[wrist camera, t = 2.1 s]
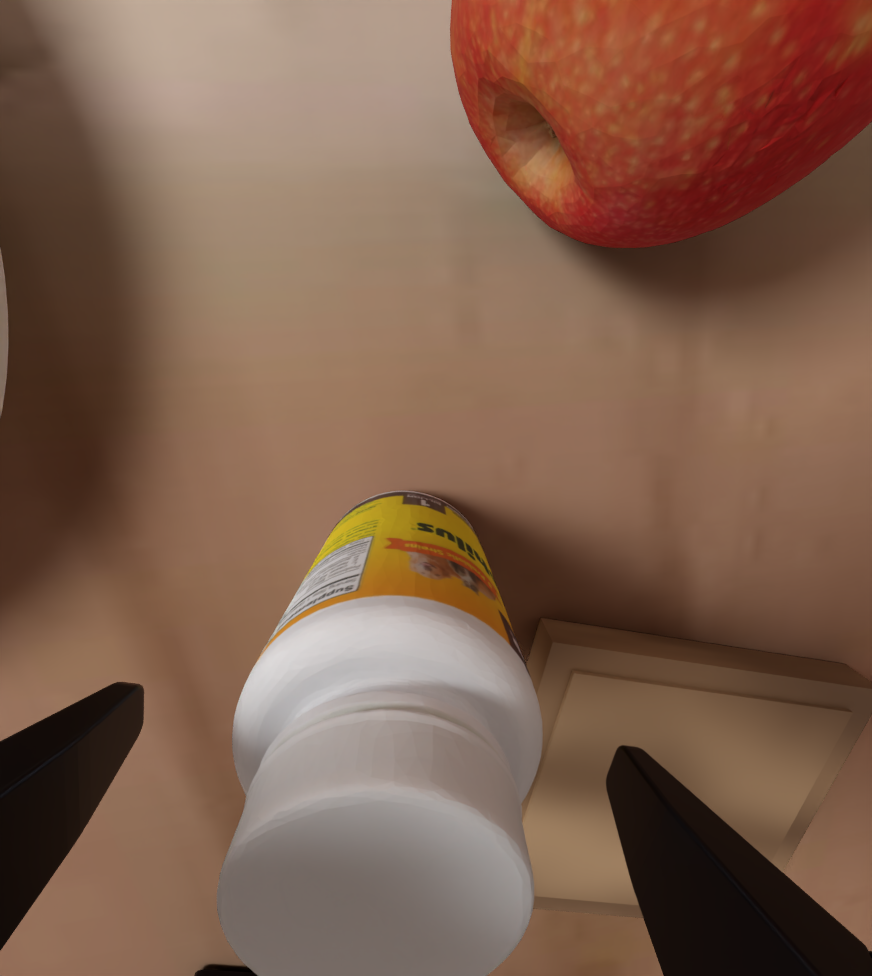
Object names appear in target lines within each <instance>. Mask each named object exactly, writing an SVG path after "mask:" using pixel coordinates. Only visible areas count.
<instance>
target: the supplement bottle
mask: <svg viewBox="0 0 872 976" xmlns="http://www.w3.org/2000/svg"><path fill="white" fill-rule="evenodd" d="M542 738H543V732H542V718H541V712H540V707H539V702H538V699H537V695H536V692H535V689H534V686H533V683H532V680H531V677H530V674H529V671H528V669H527V666H526V663H525V661H524V658H523V656H522V653H521V650H520V648H519V645H518V642H517V639H516V637H515V634H514V632H513V629H512V626H511V623H510V621H509V618H508V615H507V613H506V610H505V607H504V604H503V602H502V599H501V596H500V594H499V591H498V588H497V586H496V583H495V580H494V578H493V575H492V572H491V569H490V567H489V564H488V562H487V558H486V556H485V553H484V550H483V548H482V546H481V543H480V541H479V539H478V536H477V534H476V532H475V531H474V529H473V527H472V526H471V524H470V523H469V522H468V520H467V519H466V518H465V517H464V516H463V515H462V514H461V513H460V512H459V511H458V510H456V509H455V508H454V507H453V506H451V505H450V504H448V503H446V502H445V501H443V500H441V499H439V498H436V497H434V496H431V495H428V494H425V493H420V492H416V491H392V492H386V493H382V494H379V495H376V496H373V497H370V498H368V499H366V500H364V501H362V502H361V503H359V504H357V505H356V506H354V507H353V508H352V509H351V510H349V511H348V512H347V513H346V514H345V515H344V516H343V517H342V518H341V519H340V521H339V522H338V523H337V524H336V526H335V527H334V529H333V530H332V532H331V533H330V535H329V536H328V539H327V540H326V542H325V544H324V546H323V548H322V549H321V551H320V553H319V554H318V556H317V558H316V559H315V561H314V563H313V565H312V566H311V568H310V570H309V571H308V573H307V575H306V576H305V578H304V580H303V582H302V584H301V585H300V587H299V589H298V591H297V593H296V594H295V596H294V598H293V599H292V601H291V603H290V605H289V606H288V608H287V610H286V612H285V613H284V615H283V617H282V618H281V620H280V622H279V624H278V625H277V627H276V629H275V631H274V633H273V634H272V636H271V638H270V639H269V641H268V643H267V644H266V646H265V648H264V649H263V651H262V653H261V655H260V657H259V658H258V660H257V662H256V664H255V666H254V667H253V669H252V671H251V673H250V675H249V677H248V679H247V681H246V683H245V685H244V688H243V690H242V693H241V695H240V698H239V701H238V704H237V708H236V712H235V716H234V722H233V733H232V748H233V757H234V762H235V768H236V772H237V775H238V778H239V780H240V783H241V786H242V788H243V790H244V792H245V795H246V800H245V806H244V811H243V814H242V816H241V819H240V821H239V824H238V827H237V829H236V832H235V834H234V837H233V840H232V842H231V845H230V847H229V850H228V852H227V855H226V858H225V860H224V863H223V866H222V869H221V873H220V877H219V883H218V890H217V911H218V915H219V920H220V924H221V927H222V929H223V932H224V934H225V936H226V939H227V941H228V943H229V944H230V946H231V947H232V949H233V950H234V952H235V953H236V954H237V956H238V957H239V958H240V959H241V961H242V962H243V963H244V964H245V965H246V966H247V967H248V968H250V969H251V970H252V971H253V972H254V973H255V974H257V975H258V976H486V975H488V974H489V973H491V972H492V971H493V970H494V969H495V968H497V967H498V966H499V965H500V964H501V963H502V962H503V961H504V960H505V959H506V958H507V957H508V956H509V955H510V954H511V953H512V951H513V950H514V949H515V947H516V946H517V944H518V943H519V942H520V940H521V938H522V936H523V934H524V932H525V930H526V928H527V926H528V923H529V920H530V917H531V914H532V911H533V904H534V878H533V871H532V866H531V862H530V857H529V853H528V848H527V843H526V839H525V834H524V829H523V823H522V806H521V803H522V802H523V800H524V799H525V797H526V795H527V793H528V791H529V789H530V787H531V785H532V783H533V780H534V778H535V775H536V773H537V769H538V766H539V762H540V759H541V751H542Z"/></svg>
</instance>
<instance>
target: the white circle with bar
mask: <svg viewBox="0 0 872 976" xmlns="http://www.w3.org/2000/svg"><path fill="white" fill-rule="evenodd" d="M8 347H9V344H8V307H7V296H6V284H5V274H4V268H3V261H2V255H1V249H0V417H1V413H2V408H3V401H4V394H5V386H6V379H7V364H8Z"/></svg>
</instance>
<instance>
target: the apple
mask: <svg viewBox="0 0 872 976" xmlns="http://www.w3.org/2000/svg"><path fill="white" fill-rule="evenodd" d="M450 42H451V55H452V61H453V67H454V72H455V78H456V82H457V86H458V91H459V94H460V97H461V101H462V104H463V106H464V109H465V112H466V114H467V117H468V120H469V123H470V125H471V127H472V129H473V131H474V133H475V135H476V136H477V138H478V140H479V142H480V144H481V145H482V147H483V149H484V151H485V152H486V154H487V156H488V157H489V159H490V160H491V162H492V163H493V165H494V166H495V168H496V169H497V171H498V172H499V174H500V175H501V177H502V178H503V180H504V181H505V182H506V184H507V185H508V186H509V187H510V188H511V189H512V190H513V191H514V192H515V193H516V194H517V195H518V196H519V197H520V198H521V200H522V201H523V202H524V203H525V204H526V205H527V206H528V207H529V208H530V209H531V210H532V211H533V212H534V213H535V214H536V215H537V216H538V217H539V218H540V219H541V220H542V221H544V222H545V223H546V224H547V225H548V226H549V227H551V228H553V229H555V230H557V231H559V232H561V233H563V234H565V235H567V236H569V237H571V238H573V239H575V240H578V241H581V242H584V243H587V244H592V245H598V246H604V247H611V248H639V247H651V246H657V245H663V244H669V243H674V242H678V241H681V240H684V239H687V238H691V237H694V236H697V235H699V234H702V233H705V232H708V231H711V230H714V229H716V228H719V227H721V226H723V225H725V224H728V223H730V222H732V221H734V220H736V219H738V218H740V217H742V216H744V215H746V214H747V213H749V212H751V211H753V210H754V209H756V208H758V207H759V206H761V205H763V204H765V203H766V202H768V201H769V200H771V199H773V198H774V197H776V196H777V195H779V194H780V193H782V192H784V191H785V190H787V189H788V188H789V187H791V186H792V185H794V184H795V183H797V182H798V181H800V180H801V179H803V178H804V177H805V176H807V175H808V174H810V173H811V172H812V171H813V170H815V169H816V168H817V167H818V166H820V165H821V164H822V163H824V162H825V161H826V160H827V159H828V158H829V157H830V156H831V155H833V154H834V153H836V152H837V151H838V150H840V149H841V148H842V147H844V146H845V145H846V144H847V143H848V142H849V141H850V140H851V139H853V138H854V137H855V136H856V135H857V134H858V133H859V132H861V131H862V130H863V129H864V128H865V127H866V126H867V125H868V124H869V123H871V122H872V0H452V8H451V23H450Z"/></svg>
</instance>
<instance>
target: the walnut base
mask: <svg viewBox="0 0 872 976" xmlns="http://www.w3.org/2000/svg"><path fill="white" fill-rule="evenodd" d="M526 666H527V669H528V671H529V674H530V677H531V680H532V683H533V686H534V689H535V692H536V695H537V699H538V702H539V707H540V712H541V718H542V732H543V738H542V751H541V759H540V762H539V766H538V769H537V773H536V775H535V778H534V780H533V783H532V785H531V787H530V789H529V791H528V793H527V795H526V797H525V799H524V800H523V802H522V803H521V806H522V823H523V829H524V834H525V839H526V843H527V848H528V853H529V857H530V862H531V866H532V871H533V878H534V904H533V909H543V910H555V911H566V912H578V913H589V914H601V915H612V916H624V917H635V918H643V915H642V912H641V910H640V907H639V904H638V901H637V898H636V895H635V892H634V889H633V886H632V882H631V879H630V876H629V872H628V869H627V865H626V861H625V858H624V854H623V850H622V846H621V843H620V839H619V835H618V831H617V828H616V824H615V820H614V816H613V813H612V809H611V805H610V801H609V798H608V794H607V790H606V776H607V773H608V770H609V768H610V765H611V763H612V760H613V757H614V755H615V752H616V750H617V748H618V747H619V746H621V745H626V746H634V747H639V748H641V749H643V750H644V751H645V752H647V753H648V754H649V755H650V756H651V757H652V758H653V759H655V760H656V761H657V762H658V763H659V764H660V765H661V766H662V767H664V768H665V769H666V770H667V771H668V772H669V773H670V774H672V775H673V776H674V777H675V778H676V779H677V780H678V781H679V782H681V783H682V784H683V785H684V786H685V787H686V788H687V789H689V790H690V791H691V792H692V793H693V794H694V795H695V796H696V797H698V798H699V799H700V800H701V801H702V802H703V803H704V804H706V805H707V806H708V807H709V808H710V809H711V810H712V811H714V812H715V813H716V814H717V815H718V816H719V817H720V818H721V819H723V820H724V821H725V822H726V823H727V824H728V825H729V826H731V827H732V828H733V829H734V830H735V831H736V832H737V833H738V834H740V835H741V836H742V837H743V838H744V839H745V840H746V841H748V842H749V843H750V844H751V845H752V846H753V847H754V848H755V849H757V850H758V851H759V852H760V853H761V854H762V855H763V856H765V857H766V858H767V859H768V860H769V861H770V862H771V863H772V864H774V865H775V866H776V867H777V868H778V869H779V870H780V871H782V872H783V871H784V869H785V867H786V866H787V864H788V862H789V860H790V858H791V857H792V855H793V853H794V851H795V850H796V848H797V846H798V844H799V843H800V841H801V839H802V837H803V835H804V834H805V832H806V830H807V828H808V827H809V825H810V823H811V821H812V819H813V818H814V816H815V814H816V812H817V811H818V809H819V807H820V805H821V803H822V802H823V800H824V798H825V796H826V795H827V793H828V791H829V789H830V788H831V786H832V784H833V782H834V780H835V779H836V777H837V775H838V773H839V772H840V770H841V768H842V766H843V764H844V763H845V761H846V759H847V757H848V756H849V754H850V752H851V750H852V748H853V747H854V745H855V743H856V741H857V740H858V738H859V736H860V734H861V732H862V731H863V729H864V727H865V725H866V724H867V722H868V720H869V718H870V717H871V715H872V682H871V681H869V680H868V679H866V678H865V677H863V676H862V675H860V674H859V673H858V672H856V671H855V670H853V669H852V668H850V667H849V666H847V665H846V664H842V663H835V662H829V661H822V660H816V659H809V658H802V657H796V656H789V655H783V654H776V653H770V652H763V651H756V650H750V649H743V648H737V647H730V646H724V645H717V644H710V643H704V642H697V641H691V640H684V639H678V638H671V637H664V636H658V635H651V634H645V633H638V632H632V631H625V630H618V629H612V628H605V627H599V626H592V625H586V624H579V623H572V622H566V621H559V620H553V619H546V618H540V621H539V624H538V628H537V631H536V635H535V638H534V641H533V645H532V648H531V652H530V655H529V658H528V662H527V665H526Z"/></svg>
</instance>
